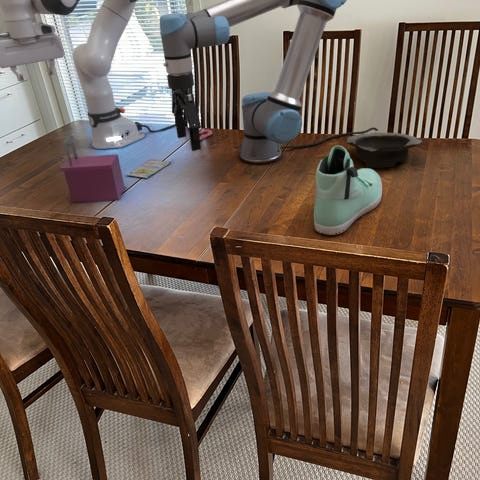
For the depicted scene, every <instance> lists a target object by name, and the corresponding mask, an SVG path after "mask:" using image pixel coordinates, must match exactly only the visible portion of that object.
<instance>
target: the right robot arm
mask: <svg viewBox="0 0 480 480" xmlns="http://www.w3.org/2000/svg"><path fill="white" fill-rule="evenodd" d="M347 1H348V0H223V1H220V2H218V3H215V4H213V5H210V6H207V7H205V8H203V9H200V10H198V11H195V12H188V13H184V12H175V13H166V14H163V15H161V16H160V17H159V31H160V33H159V34H160V38H161V44H162V50H163V55H164V56H163V57H164V63H163V67H165V70H166V71H165V72H166V74H167V75H166V78H167V86H168V88H169V89H171V114H172V115H173V116H174V120H175V121H174V122H175V124H176V126H175V127H176V134H177V138H178V139H182V138H187V131H188V133H189V140H190V148H191V151H192V152H195V151H200V150H202V145H201V140H200V137H201V136H200V134H199V132H200V130H199V129H201V128H202V125H201V121H200V116H199V113H198V109H197V106H196V100H195V95H194V93H191V92H190V88H193V87H194V85H195V78H194V73H193V72H192V71H193V61H192V53H191V50H194V49H201V48H208V47H214V46H216V47H218V46H221V45H225V44H227V43H228V42H229V40H230V37H231V36H230V35H231V29H230V28H231V27H234V26H236V25H238V24H241V23H243V22H246V21H248V20H251V19H253V18H256V17H258V16H261V15H263V14H266V13H268V12H271V11H273V10H276V9H278V8H282V9H287V8H289V7H293V6H297V9H298V12H299V16H298V19H297V22H296V24H295V28H294V31H293V34H292V37H291V40H290V43H289V45H288V48H287V52H286V55H285V58H284V61H283V64H282V67H281V70H280V73H279V76H278V79H277V82H276V85H275V88H274V90H273V91H272V92H271V91H263V92H262V91H261V92H254V93H249V94H246V95H244V96H243V97H242V99H241V111H242V112H241V113H242V114H241V115H242V125H243V141H242V144H241V146H240V147H238V148H237V150H238V151H237V152H238V153H240V154H239V155H240V160H241V161H243V162H244V163H247V164H249V165H250V164H251V165H266V164H271V163H275V162H277V161H279V160H281V158H282V157H283V154H282V153H283V152H282V151H283V150H285V149H286V150H287V149H300V148H308V147H314V146H317V145H320V144H323V143H324V142H326V141H328V140H331V139H335V138H338V137H339V138H340V137H344V136H354V135H359V134H366V133H370V131H373V130H374V132H375V131H376V132H378V131H379V130H378V128H377V127H370V128H368V129H366V130H363V131H362V130H361V131H351V132H343V133H339V134H338V133H337V134H334V135H331V136H328V137H325V138H323V139H321V140H320V141H315V142H312V143H308V144H307V143H306V144H300V145H285V144H287V143H290V142H291V141H293V140H294V139H296V138H297V137H298V136H299V134H300V132H301V130H302V127H303V120H302V116H301V115H300V113H301V111H302V107H303V104H302V102H301V97H302V93H303V91H304V88H305V85H306V82H307V79H308V76H309V74H310V72H311V68H312V65H313V62H314V60H315V56H316V54H317V51H318V48H319V45H320V42H321V40H322V36H323V33H324V31H325V27H326V25H327V23H328V22H330V21H331V20H333V19H334V17H335V14H336V12H337V9H338V8H341V7H342V6H343V5H345V4H346V2H347ZM185 117H186V120H187V124H188V129H187V131H186V122H184V120H185ZM281 144H282V145H283V144H284V145H283V146H281Z"/></svg>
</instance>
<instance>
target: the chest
mask: <svg viewBox="0 0 480 480" xmlns="http://www.w3.org/2000/svg"><path fill="white" fill-rule="evenodd" d="M63 174H64V178H65V181H66V185H67V188H68V192H69V195H70V199H71V202H72V203H84V202H85V203H86V202H87V203H88V202H103V201H119V200H120V199H121V196H122V195H123V192H124V190H125V189H126V188H125V187H126V186H125V182H124V177H123V173H122V168H121V163H120V158H119V157H118V159H117V161H116V162H115V164H114V166H113V167H112V169H96V170H80V171H64V172H63Z"/></svg>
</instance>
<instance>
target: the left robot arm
mask: <svg viewBox="0 0 480 480" xmlns="http://www.w3.org/2000/svg"><path fill="white" fill-rule="evenodd" d="M80 1H81V0H0V8H1V11H2V14H3V21H4V25H5V29H6V32H2V33H0V69H6V68H9V69H10V71H11V72H12V73H13V74H14V75H15V76H16V79H17V81H18V82H24V81H25V78H24V75H23V74H21V73H19V72H17V70H18V67H19V66H24V65H30V64H36V63H40V62H47V63H49V67H48V68H47V69H46V72H47V75H48V76H53V75H54V76H55V71H54V68H55V65H56V61H55V60H57V59H63V58H64V56H65V50H64V46H63V43H62V41H61V38H60V36H58V35H57V34H56V27H55V26H54V25H51V24H47V23H44V22H38V20H37V17H36V15H56V16H68V15H70V14H72V13H73V12H74V11H75V10H76V8H77V6H78V4H79V3H80ZM137 1H138V0H103V1H102V4H101V5H100V7H99V9H98V11H97V13H96V15H95V17H94V19H93V21H92V23H91V26H90V30H89V33H88V34H89V35H88V38H87V41H86V43H81V44H78V45H77V46H76V47H75V48H74V49H73V52H72V61H73V64H74V67H75V71H76V74H77V77H78V81H79V84H80V86H81V89H82V92H83V96H84V100H85V104H86V108H87V118H88V122H89V125H90V127H91V128H90V129H91V137H92V138H91V140H92V141H91V147H92V148H94V149H98V150H107V149H121V148H122V149H123V148H124V147H127V146H128V145H131V144H132V143H135V142H137V141H139V140H141V139H143V138H145V137H146V135H145V133H144V132H142V131H143V128H146V129H147V131H148V132H150V133H158V132H163V131H166V130H168V129H172V128H174V127H176V123H174V124H172V125H168V126H165V127H164V128H160V129H156V130H153V129H151V128H150V126H148V125H146V124H141V123H140V122H138V121H135V122H134V121H133V120H131V119H129V118H127V117H125V116H123V115H122V114H125V112H126V109H125V108H124V107H123V108H122V107H117V106H116V103H115V97H114V94H113V88H112V86H111V84H110V81H109V78H108V74H109V73H110V71H111V68H112V63H113V59H114V57H115V53H116V50H117V47H118V44H119V41H120V39H121V38H122V35H123V33H124V32H125V30H126V29H127V28H126V27H127V26H128V24H129V22H130V20H131V18H132V15H133V12H134V9H135V6H136V3H137ZM184 122H185V123H186V122H187V123H188V121H187V119H184Z"/></svg>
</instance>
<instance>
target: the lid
mask: <svg viewBox="0 0 480 480" xmlns="http://www.w3.org/2000/svg"><path fill="white" fill-rule="evenodd" d="M74 141H75V137H74V136H73V135H72V134H71V135H69V136H68V137H66V139H65V140H64V141H63V142H62V144H61V146H62V147H63V148H64V150H65V154H66V158H67V159H66V161H65V162H63V164H62V165H61V166H60V168H59V170H60V172H63V173H64V171H80V170H96V169H112V167H113V166H114V164H115V162H116V161H117V159H118V158H119V155H118V153H117V154H102V155H87V156H78V154H77V151H76V147H75V143H74ZM70 145H71V149H72V154H73V156H71V154H70V150H69V146H70Z"/></svg>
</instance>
